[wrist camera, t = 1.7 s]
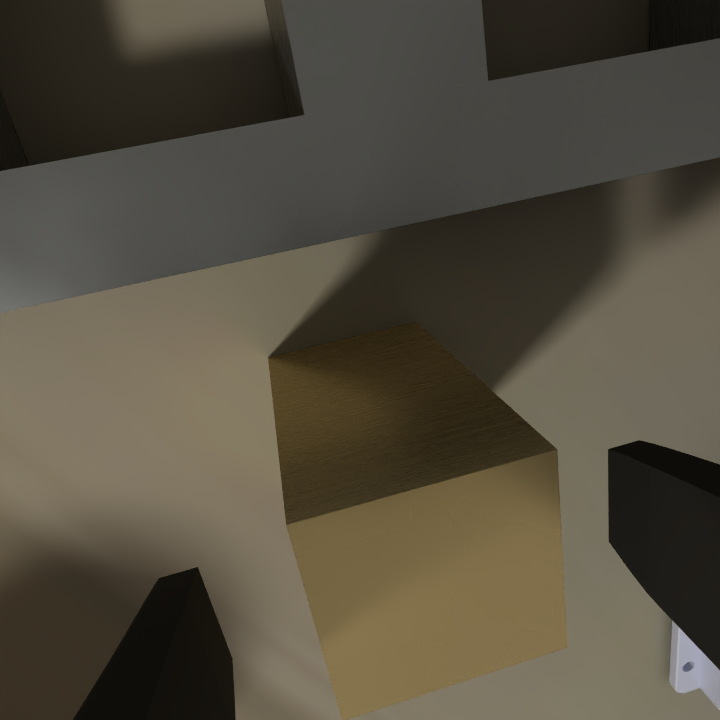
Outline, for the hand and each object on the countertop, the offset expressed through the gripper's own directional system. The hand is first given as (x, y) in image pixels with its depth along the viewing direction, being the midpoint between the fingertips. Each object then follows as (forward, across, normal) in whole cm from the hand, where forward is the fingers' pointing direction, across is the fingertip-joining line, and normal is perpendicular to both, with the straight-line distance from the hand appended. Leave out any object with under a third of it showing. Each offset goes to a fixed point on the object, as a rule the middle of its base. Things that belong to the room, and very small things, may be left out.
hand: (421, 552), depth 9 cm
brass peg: (+6, 0, 0) cm, 6 cm away
